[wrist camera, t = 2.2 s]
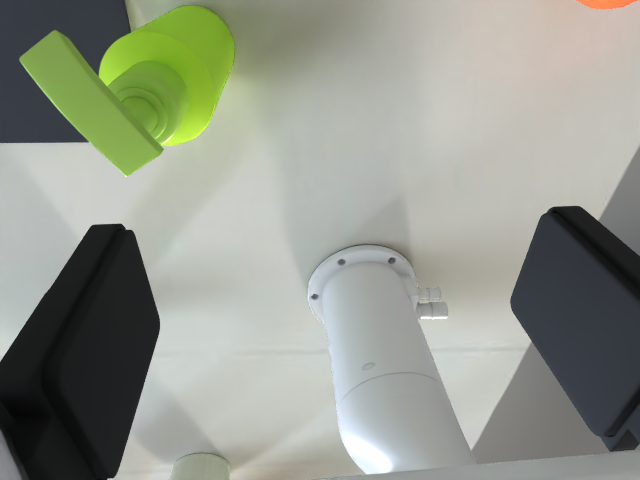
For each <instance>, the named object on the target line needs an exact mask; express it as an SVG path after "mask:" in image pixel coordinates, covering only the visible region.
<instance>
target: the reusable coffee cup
mask: <svg viewBox="0 0 640 480" xmlns="http://www.w3.org/2000/svg"><path fill="white" fill-rule="evenodd" d="M169 480H230V465H229V463H228V462H227V461H226V460H225V459H223V458H222V457H219V456H217V455H213V454H205V453H199V454H191V455H187V456H184V457H182V458H180V459H179V460H177V461H176V462H175V464H174V466H173V469H172V472H171V475H170V478H169Z"/></svg>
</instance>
